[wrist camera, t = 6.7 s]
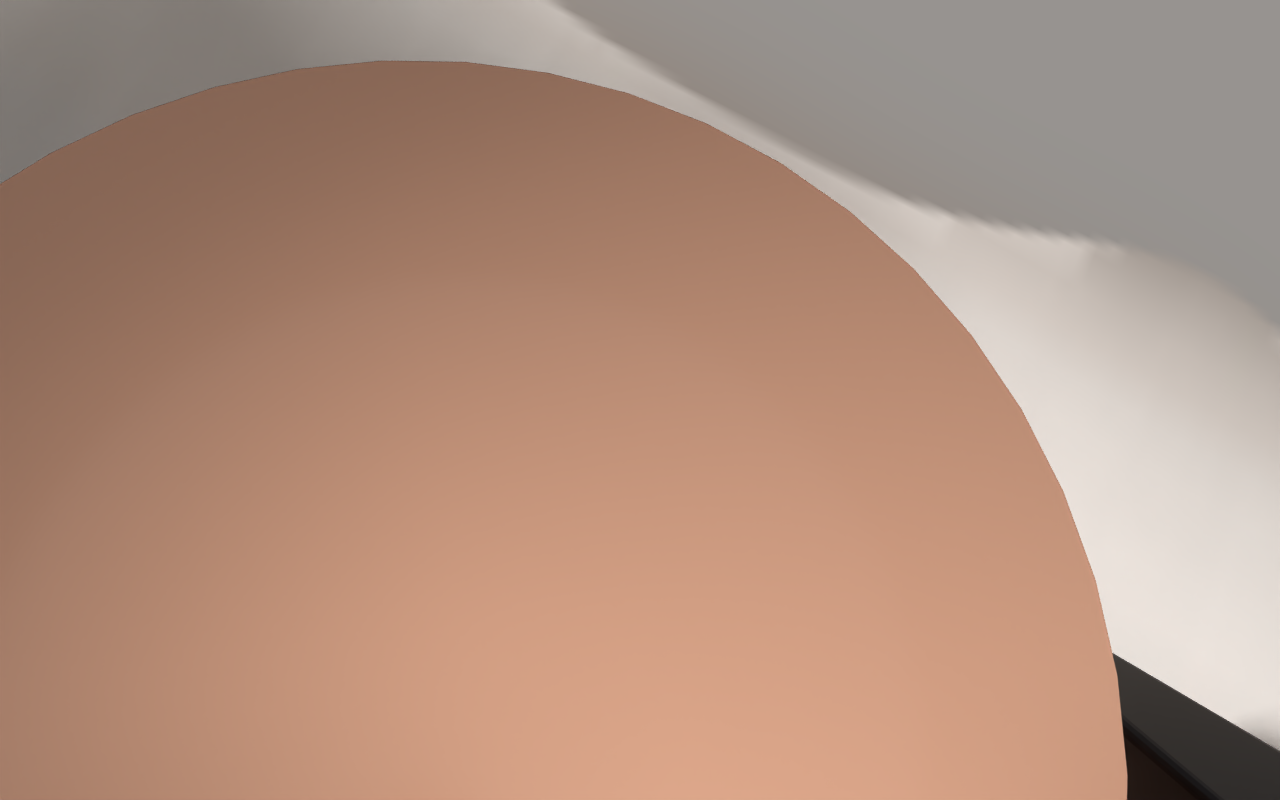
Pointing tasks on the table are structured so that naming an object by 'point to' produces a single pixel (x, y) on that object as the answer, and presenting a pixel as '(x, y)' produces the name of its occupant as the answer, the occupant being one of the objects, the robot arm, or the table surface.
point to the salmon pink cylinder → (509, 470)
